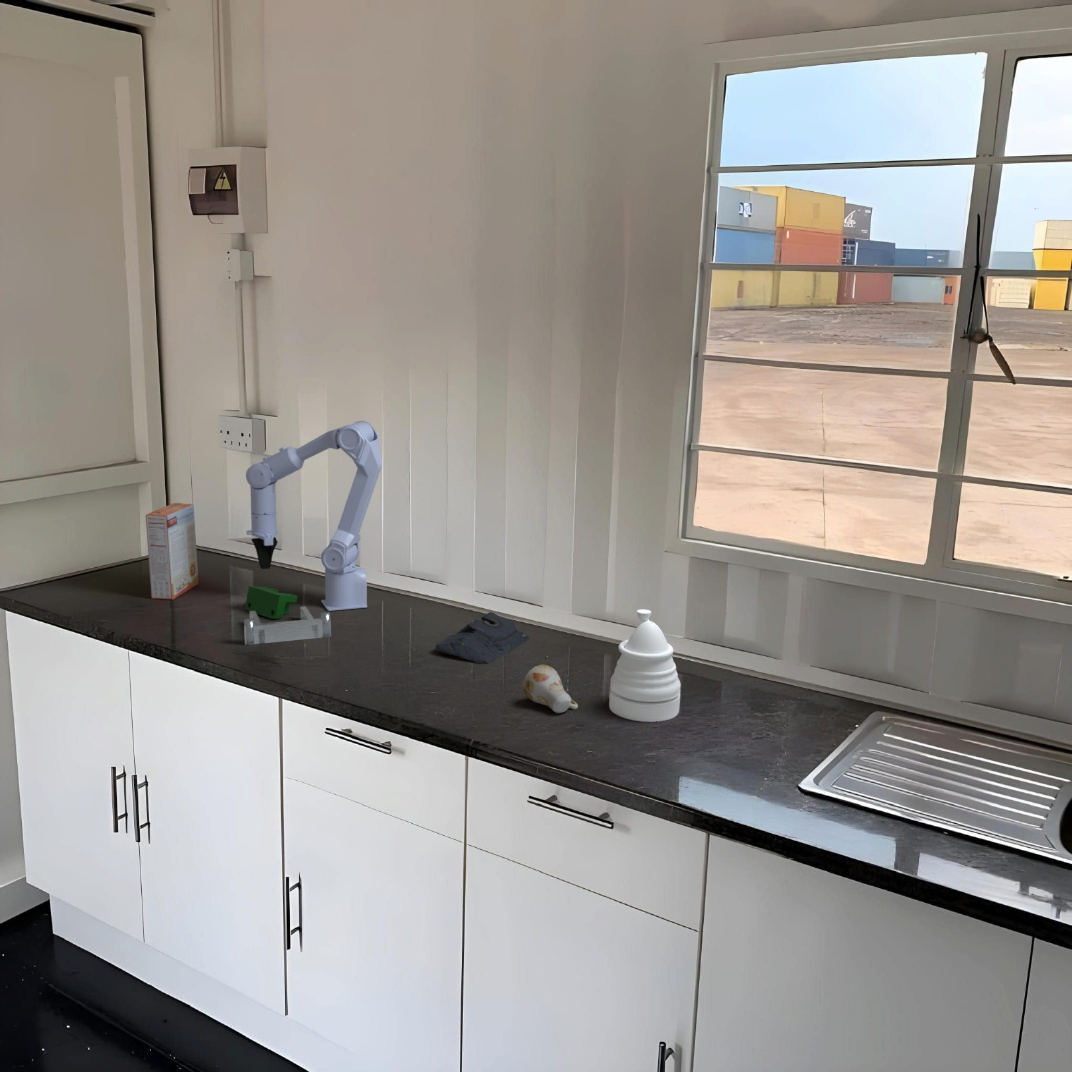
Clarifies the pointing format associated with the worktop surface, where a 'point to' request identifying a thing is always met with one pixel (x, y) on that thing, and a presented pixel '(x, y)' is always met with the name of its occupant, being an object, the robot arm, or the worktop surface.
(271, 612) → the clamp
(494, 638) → the folded dark cloth
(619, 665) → the honey pot
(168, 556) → the cracker box
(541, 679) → the mug
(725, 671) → the worktop surface
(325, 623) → the dock
